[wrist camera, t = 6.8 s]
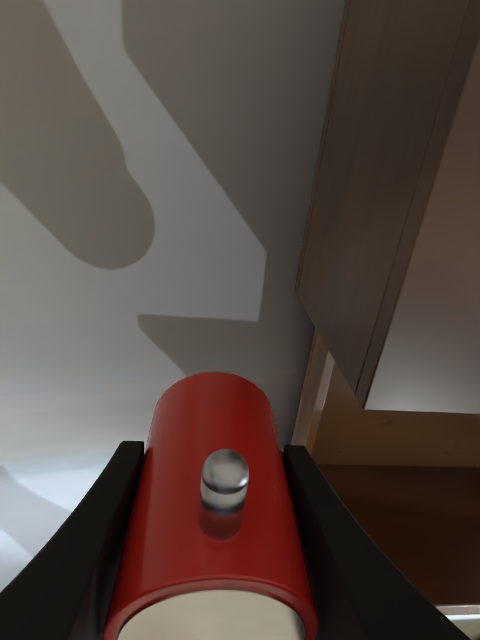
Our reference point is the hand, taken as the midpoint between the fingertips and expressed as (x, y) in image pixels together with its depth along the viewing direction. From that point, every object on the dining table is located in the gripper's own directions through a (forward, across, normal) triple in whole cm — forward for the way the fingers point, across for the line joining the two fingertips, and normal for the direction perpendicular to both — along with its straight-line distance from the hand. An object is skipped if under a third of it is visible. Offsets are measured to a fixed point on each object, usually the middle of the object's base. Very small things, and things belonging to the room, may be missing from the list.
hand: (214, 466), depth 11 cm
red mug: (+2, 0, 0) cm, 2 cm away
